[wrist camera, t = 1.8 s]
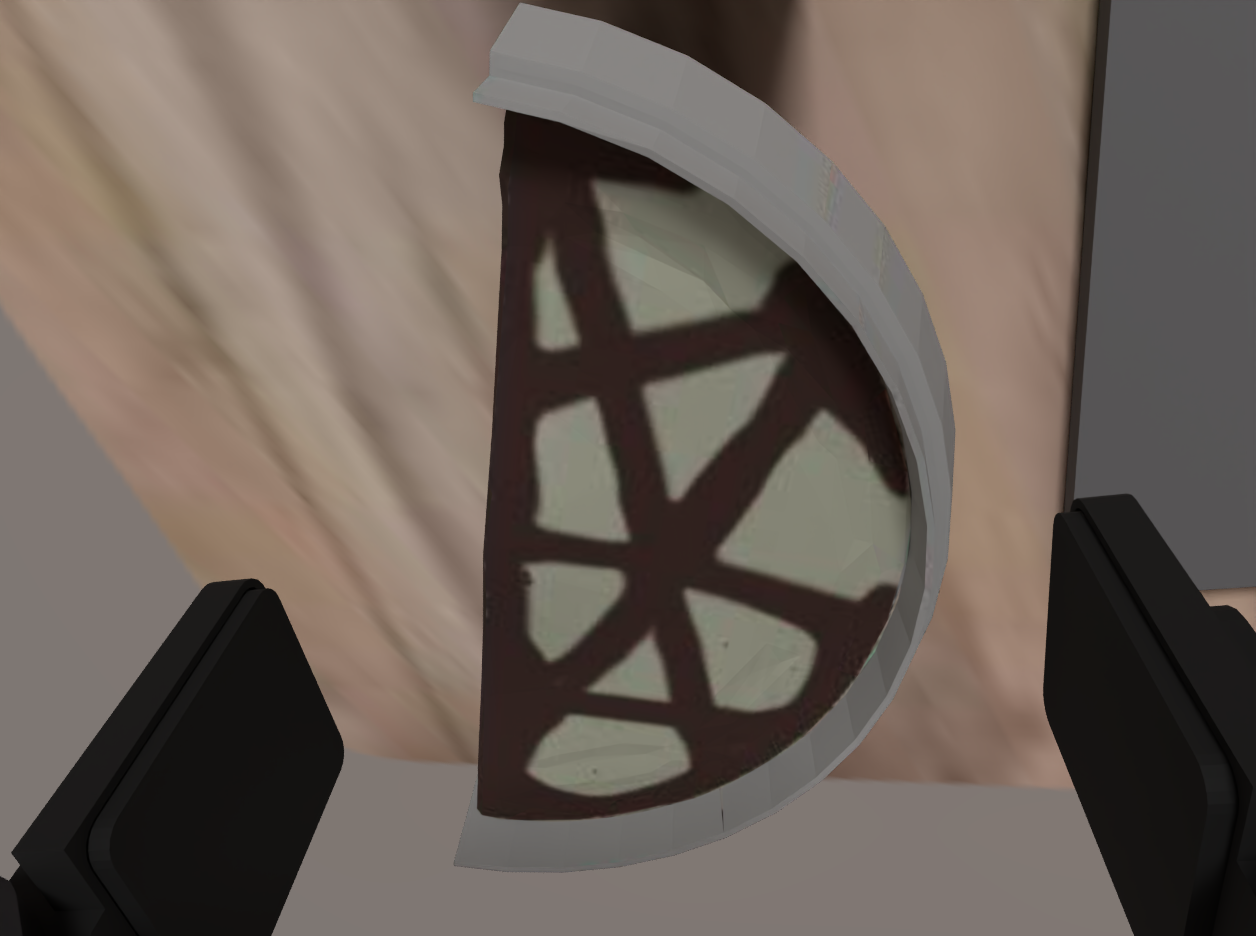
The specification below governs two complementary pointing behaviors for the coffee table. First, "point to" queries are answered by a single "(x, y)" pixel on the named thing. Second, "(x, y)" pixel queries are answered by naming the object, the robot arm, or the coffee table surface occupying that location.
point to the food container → (688, 459)
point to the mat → (1172, 281)
